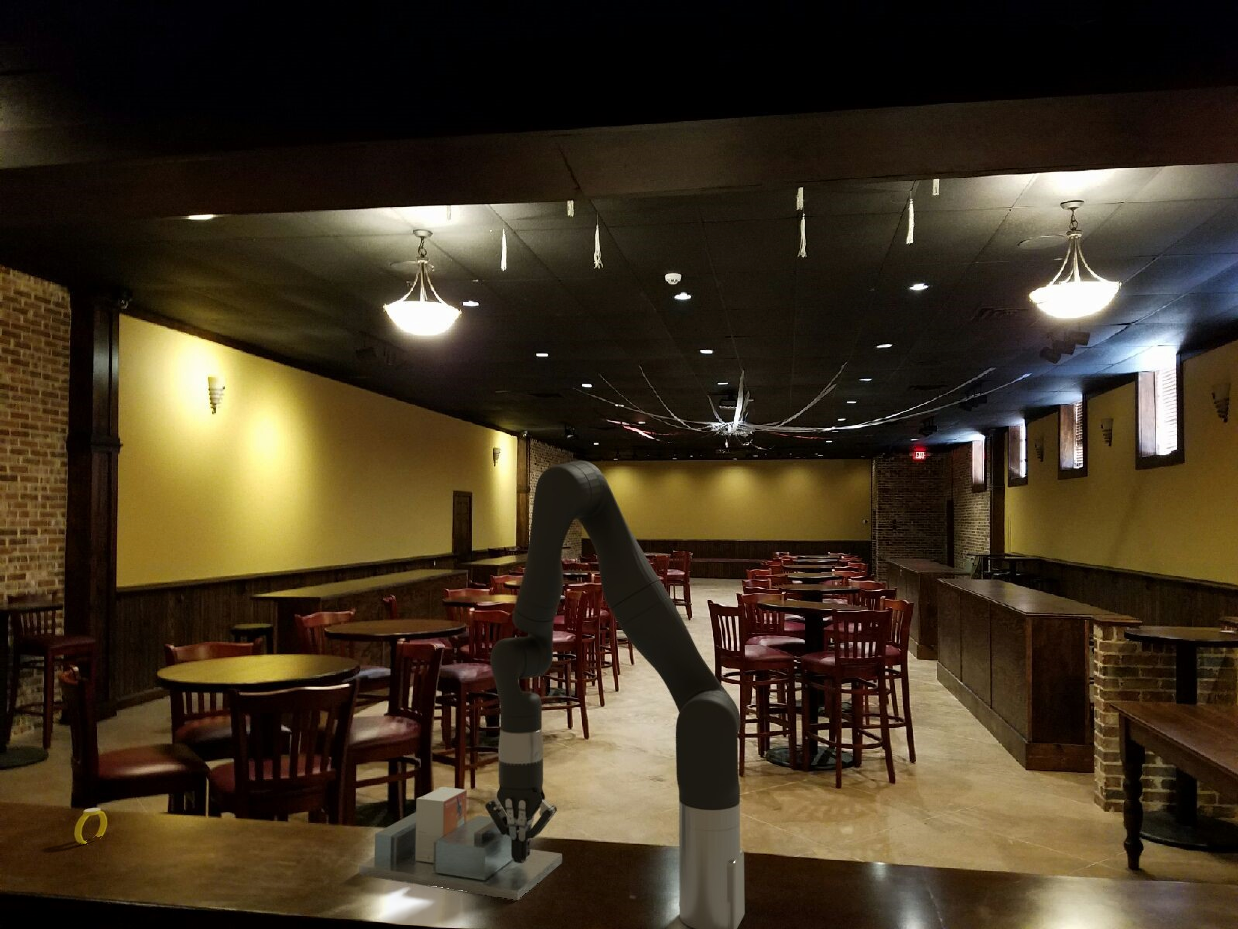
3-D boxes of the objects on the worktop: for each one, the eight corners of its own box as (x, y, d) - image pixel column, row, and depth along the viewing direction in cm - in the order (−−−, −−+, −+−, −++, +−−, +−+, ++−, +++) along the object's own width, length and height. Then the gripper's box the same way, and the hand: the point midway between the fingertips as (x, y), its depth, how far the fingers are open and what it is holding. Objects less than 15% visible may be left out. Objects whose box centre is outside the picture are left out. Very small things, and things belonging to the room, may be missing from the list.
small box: (442, 865, 148) (443, 801, 149) (414, 861, 150) (415, 798, 151) (467, 849, 156) (467, 789, 157) (439, 845, 158) (440, 785, 159)
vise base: (562, 862, 154) (562, 824, 154) (517, 901, 138) (517, 858, 138) (415, 841, 164) (416, 805, 165) (358, 874, 148) (359, 835, 149)
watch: (97, 838, 167) (100, 805, 168) (108, 839, 166) (112, 806, 167) (69, 846, 161) (73, 812, 162) (81, 848, 161) (85, 814, 162)
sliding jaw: (524, 850, 155) (524, 813, 155) (484, 880, 142) (485, 839, 142) (474, 843, 158) (474, 807, 159) (431, 871, 145) (432, 832, 146)
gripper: (565, 754, 150) (565, 858, 149) (497, 747, 155) (496, 849, 153) (546, 765, 143) (546, 875, 142) (475, 758, 148) (474, 864, 146)
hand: (520, 861), depth 147 cm, fingers closed
